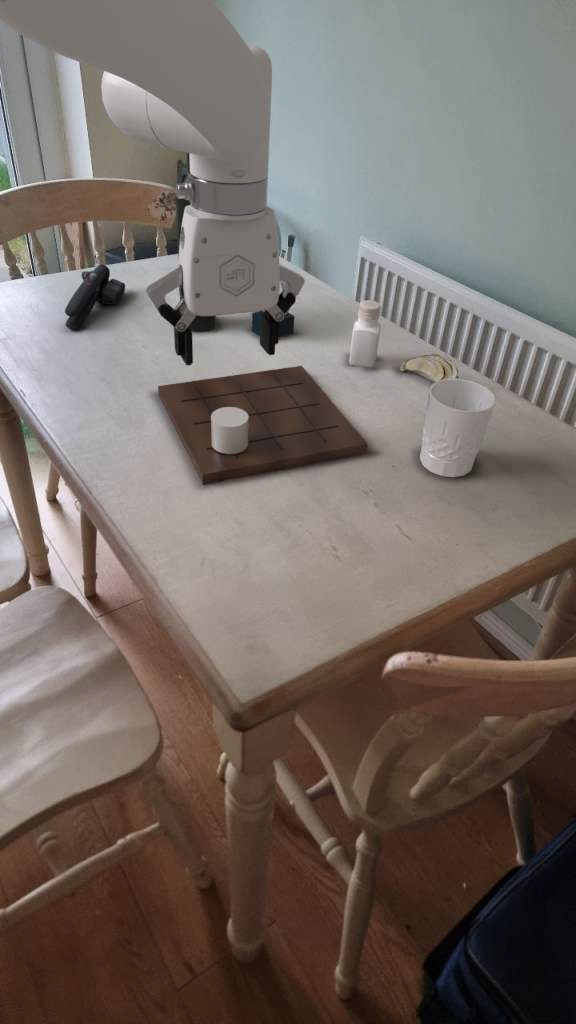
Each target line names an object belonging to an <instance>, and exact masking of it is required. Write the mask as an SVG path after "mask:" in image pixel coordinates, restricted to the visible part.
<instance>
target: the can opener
mask: <svg viewBox="0 0 576 1024" xmlns="http://www.w3.org/2000/svg"><path fill="white" fill-rule="evenodd" d="M110 276H111V270H110V268H109V266H106V265H105V264H99V265H97V266H95V268H94V269H93V270H90V271H89V270H88V271H87V270H85V271H82V272H81V279H82V282H81V284H80V285H79V286H78V288H77V289H76V291H74V293H73V294H72V296H71V298H70V299H69V301H68V303H67V305H66V307H65V308H64V314H65V315H66V316H68V318H67V320H66V322H65V324H64V325H65V327H66V328H68V329H69V330H71V331H73V330H77V329H79V328H80V327H81V326H82V325H83V324H84V322H85V321H86V320H87V318H88V317H89V315H90V313H92V311H93V308H94V307H95V306H96V304H97V303H98V301H100V300H101V303H102V304H105V305H107V304H108V305H117V304H118V303H119V302H120V301H121V300H122V298H123V297H124V294H125V291H126V284H125V283H124V282H123V281H120V280H118V279H115V278H110Z"/></svg>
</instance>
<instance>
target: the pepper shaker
mask: <svg viewBox="0 0 576 1024" xmlns="http://www.w3.org/2000/svg"><path fill="white" fill-rule="evenodd" d="M381 307H382V306H381V303H380V302H379V301H375V300H370V299H369V300H366V299H365V300H361V301H360V302H359V305H358V312H357V317H358V318H357V320H355V321H354V324H353V327H352V334H351V335H352V336H351V343H350V352H349V359H348V362H349V365H351V366H356V367H364V368H373V367H374V366H375V365H376V361H377V356H378V349H379V343H380V336H381V328H382V324H381V323H379V319H380V314H381V310H382V309H381Z"/></svg>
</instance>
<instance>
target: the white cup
mask: <svg viewBox="0 0 576 1024" xmlns="http://www.w3.org/2000/svg"><path fill="white" fill-rule="evenodd" d="M496 402H497V399H496V396H495V394H494V393H493V392H492V390H491V389H489V388H487V386H484V385H483V384H480V383H478V382H475V381H472V380H468V379H463V378H458V379H444V380H440V381H437V382H435V383H434V382H433V383H432V384H431V386H430V387H429V392H428V398H427V403H426V409H425V410H426V412H425V417H424V421H423V430H422V442H421V449H420V456H419V460H420V462H421V464H422V466H423V467H424V468H425V469H426V470H428V471H429V472H430V473H433V474H435V475H438V476H440V477H446V478H458V477H464V476H466V475H468V474H469V473H470V472H471V471H472V469H473V465H474V463H475V460H476V457H477V455H478V453H479V451H480V449H481V446H482V443H483V440H484V437H485V435H486V433H487V429H488V427H489V423H490V420H491V417H492V414H493V412H494V408H495V406H496Z"/></svg>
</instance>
